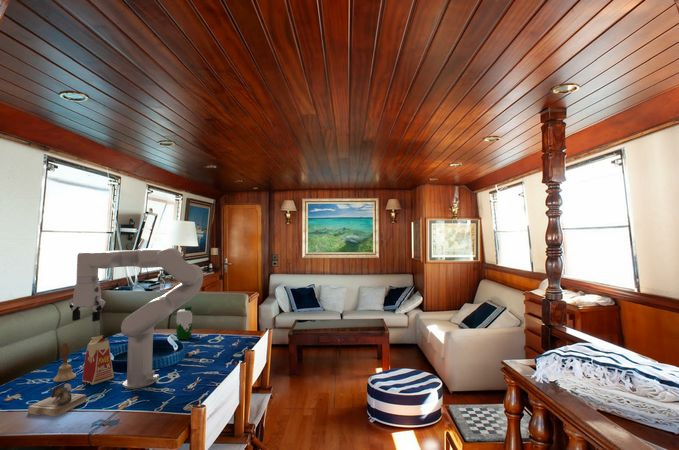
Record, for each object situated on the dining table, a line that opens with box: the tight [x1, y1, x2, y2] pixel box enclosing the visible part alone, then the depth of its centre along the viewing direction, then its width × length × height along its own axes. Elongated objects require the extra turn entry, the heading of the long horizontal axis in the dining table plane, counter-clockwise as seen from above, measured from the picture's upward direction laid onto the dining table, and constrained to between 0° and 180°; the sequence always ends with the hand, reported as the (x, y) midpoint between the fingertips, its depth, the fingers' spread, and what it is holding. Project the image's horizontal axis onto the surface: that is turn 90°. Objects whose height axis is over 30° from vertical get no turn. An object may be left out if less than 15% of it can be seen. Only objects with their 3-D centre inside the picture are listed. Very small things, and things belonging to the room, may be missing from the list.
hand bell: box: [52, 342, 77, 383], centre depth 161 cm, size 8×8×16 cm
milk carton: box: [82, 334, 115, 386], centre depth 159 cm, size 9×9×20 cm
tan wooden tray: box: [27, 393, 87, 417], centre depth 132 cm, size 12×12×3 cm
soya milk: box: [176, 305, 193, 340], centre depth 228 cm, size 9×9×20 cm
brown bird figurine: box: [48, 383, 72, 406], centre depth 131 cm, size 8×7×9 cm
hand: (86, 320), depth 151 cm, fingers open, 9 cm apart
